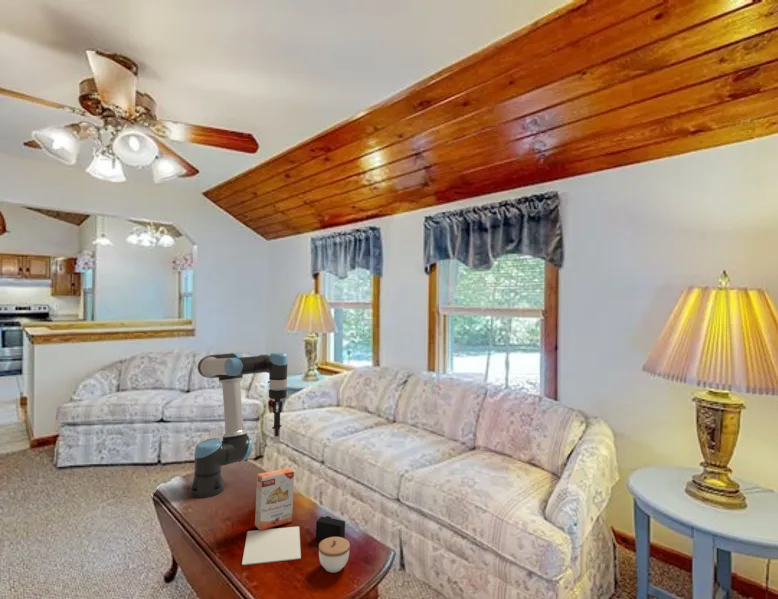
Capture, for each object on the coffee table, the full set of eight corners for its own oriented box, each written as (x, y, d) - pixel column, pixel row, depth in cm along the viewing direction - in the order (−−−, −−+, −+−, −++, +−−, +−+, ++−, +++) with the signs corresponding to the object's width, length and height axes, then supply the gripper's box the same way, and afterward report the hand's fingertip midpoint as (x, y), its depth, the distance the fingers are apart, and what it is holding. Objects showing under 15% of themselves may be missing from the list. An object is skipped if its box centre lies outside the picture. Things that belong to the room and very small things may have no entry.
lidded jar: (319, 558, 155) (320, 532, 155) (349, 557, 156) (350, 531, 156) (316, 577, 144) (317, 549, 144) (349, 576, 145) (349, 548, 145)
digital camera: (346, 537, 169) (346, 519, 169) (340, 544, 164) (340, 526, 164) (322, 532, 172) (322, 514, 172) (315, 539, 167) (316, 521, 167)
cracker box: (260, 531, 170) (261, 477, 171) (254, 526, 175) (256, 473, 176) (293, 522, 179) (294, 470, 180) (286, 516, 184) (288, 466, 185)
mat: (247, 532, 171) (247, 531, 171) (299, 527, 176) (299, 526, 176) (241, 565, 150) (241, 564, 150) (300, 558, 154) (300, 557, 154)
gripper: (269, 385, 194) (268, 438, 193) (268, 391, 181) (266, 448, 181) (286, 385, 195) (285, 437, 195) (286, 391, 183) (285, 447, 182)
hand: (276, 442), depth 188 cm, fingers closed
